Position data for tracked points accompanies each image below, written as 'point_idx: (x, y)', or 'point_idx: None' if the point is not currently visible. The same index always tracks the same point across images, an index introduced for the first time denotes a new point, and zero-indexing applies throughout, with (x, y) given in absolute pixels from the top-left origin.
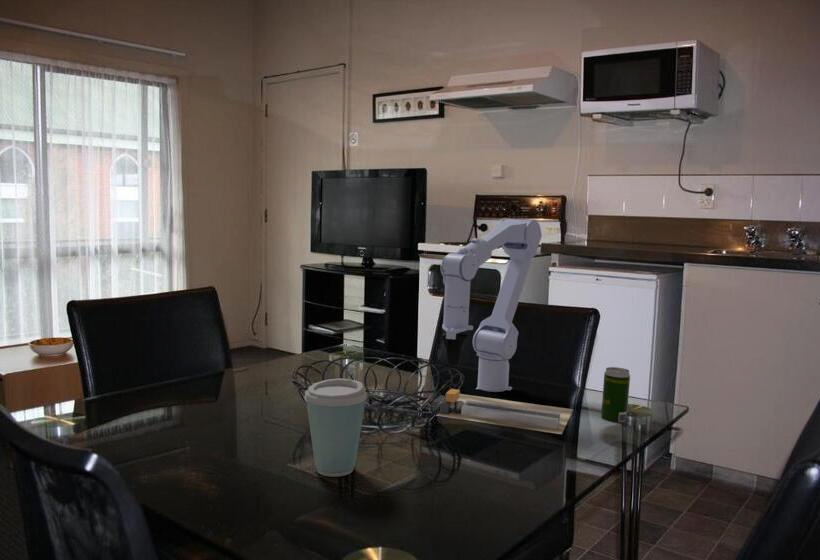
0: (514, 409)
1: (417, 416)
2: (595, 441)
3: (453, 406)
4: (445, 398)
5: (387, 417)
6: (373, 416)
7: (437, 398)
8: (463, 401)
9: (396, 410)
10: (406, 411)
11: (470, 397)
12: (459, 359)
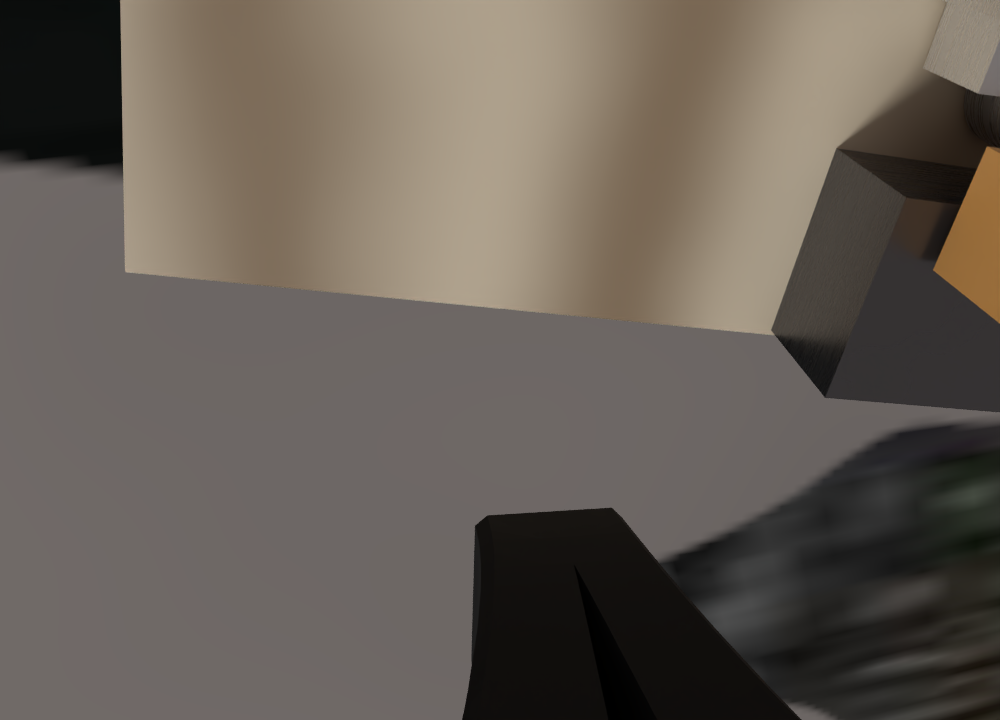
0: None
1: (948, 447)
2: None
3: (949, 176)
4: (970, 317)
5: (986, 624)
6: (966, 699)
7: (976, 401)
8: (511, 87)
9: (792, 621)
10: (809, 554)
11: (251, 8)
12: (608, 586)
